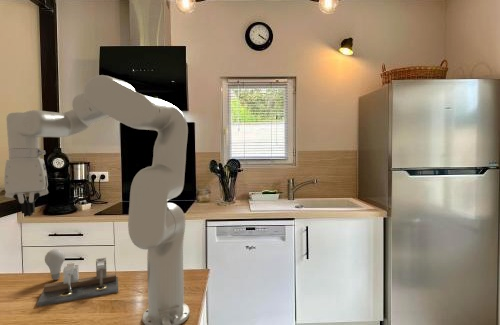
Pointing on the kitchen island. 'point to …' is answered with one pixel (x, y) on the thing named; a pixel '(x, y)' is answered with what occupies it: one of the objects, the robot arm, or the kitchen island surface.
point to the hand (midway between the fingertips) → (28, 215)
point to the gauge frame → (99, 278)
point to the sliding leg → (70, 275)
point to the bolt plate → (77, 293)
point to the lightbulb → (55, 262)
